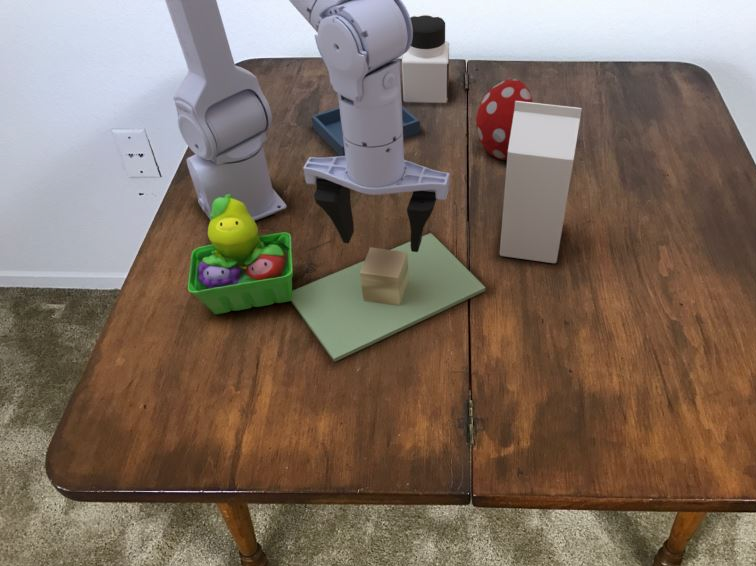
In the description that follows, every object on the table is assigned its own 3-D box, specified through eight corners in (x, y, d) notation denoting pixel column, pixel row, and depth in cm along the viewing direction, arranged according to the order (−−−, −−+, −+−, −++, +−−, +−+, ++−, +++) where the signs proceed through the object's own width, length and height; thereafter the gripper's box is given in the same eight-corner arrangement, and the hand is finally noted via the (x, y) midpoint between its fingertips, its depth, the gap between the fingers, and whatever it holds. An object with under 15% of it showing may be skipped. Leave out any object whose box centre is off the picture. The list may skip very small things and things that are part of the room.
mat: (334, 362, 73) (333, 358, 72) (287, 296, 79) (286, 292, 79) (485, 291, 80) (485, 287, 80) (430, 236, 87) (430, 232, 86)
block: (363, 300, 78) (359, 272, 75) (373, 275, 81) (370, 247, 78) (400, 306, 78) (398, 278, 74) (408, 280, 81) (407, 252, 77)
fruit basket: (202, 325, 76) (164, 249, 68) (206, 272, 82) (172, 197, 74) (303, 307, 77) (278, 230, 69) (300, 257, 83) (277, 180, 75)
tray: (343, 161, 98) (342, 146, 96) (313, 130, 103) (311, 115, 102) (420, 134, 103) (419, 120, 101) (387, 106, 108) (386, 92, 106)
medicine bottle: (447, 104, 109) (448, 29, 100) (403, 104, 109) (400, 28, 100) (448, 82, 113) (449, 9, 104) (406, 82, 113) (403, 8, 105)
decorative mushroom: (587, 78, 97) (498, 56, 90) (595, 150, 95) (505, 134, 88) (542, 115, 107) (458, 98, 100) (549, 181, 105) (464, 168, 98)
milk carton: (556, 264, 83) (579, 126, 69) (499, 256, 84) (510, 118, 70) (561, 228, 88) (584, 92, 74) (507, 221, 89) (519, 85, 75)
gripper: (455, 116, 66) (453, 226, 76) (312, 101, 67) (329, 211, 78) (441, 157, 61) (442, 268, 71) (288, 139, 63) (309, 251, 73)
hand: (382, 241), depth 74 cm, fingers open, 7 cm apart
